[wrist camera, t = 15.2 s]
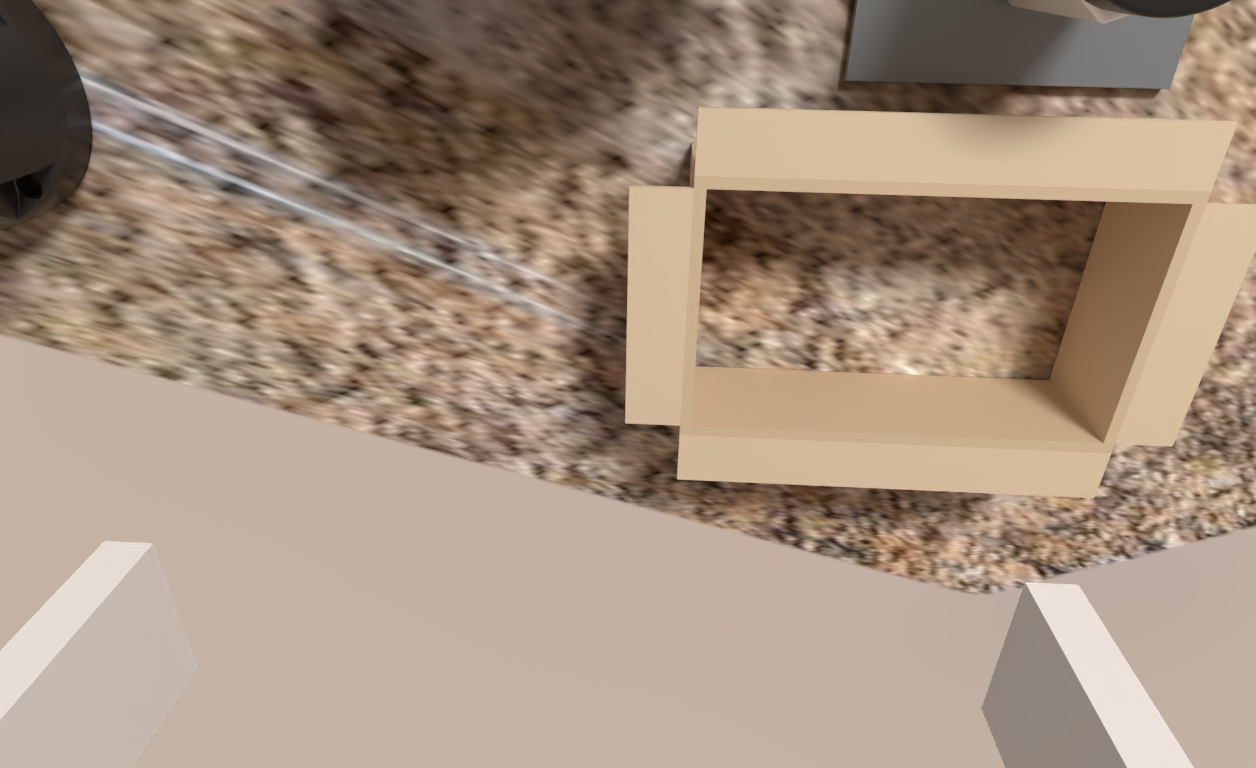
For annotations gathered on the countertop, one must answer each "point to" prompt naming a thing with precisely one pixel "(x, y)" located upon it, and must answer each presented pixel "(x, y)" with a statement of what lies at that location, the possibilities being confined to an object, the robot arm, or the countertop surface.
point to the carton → (947, 405)
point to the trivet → (1008, 46)
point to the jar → (1117, 8)
